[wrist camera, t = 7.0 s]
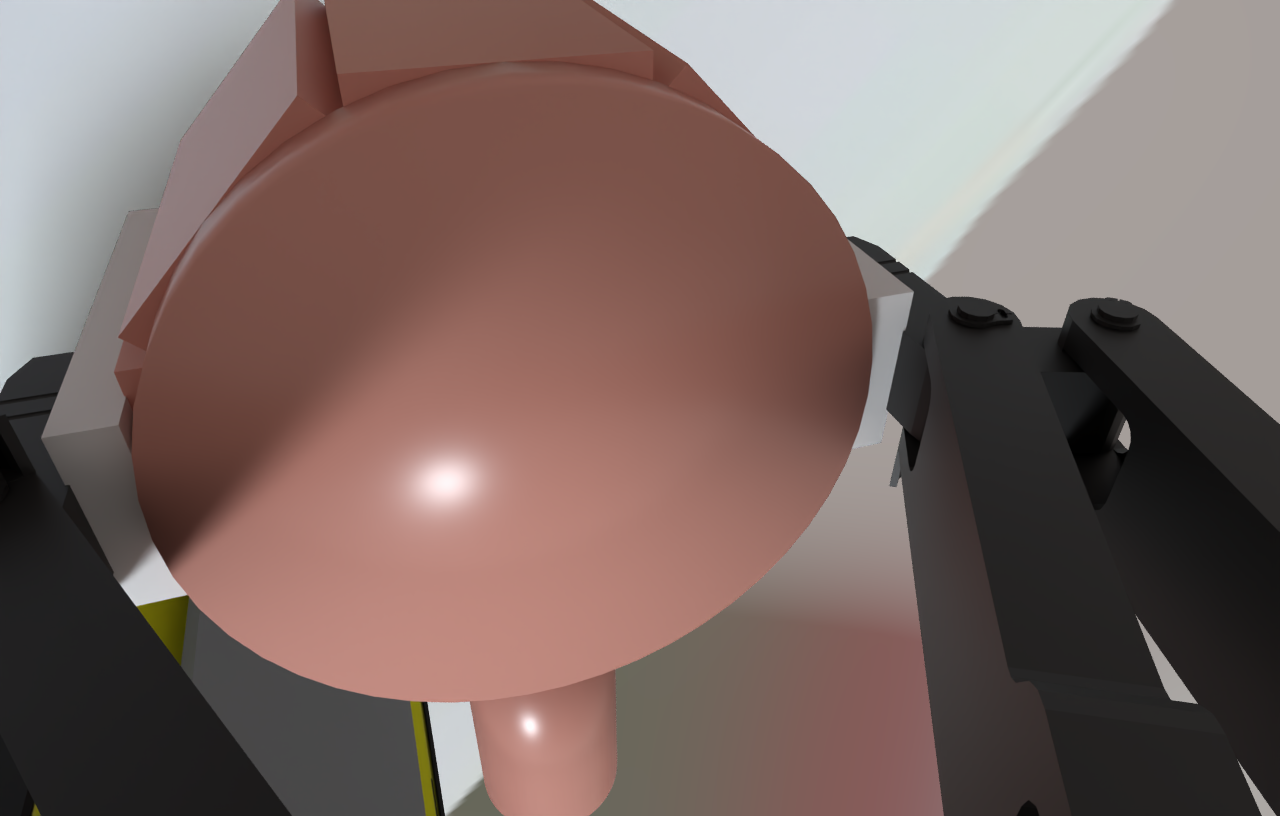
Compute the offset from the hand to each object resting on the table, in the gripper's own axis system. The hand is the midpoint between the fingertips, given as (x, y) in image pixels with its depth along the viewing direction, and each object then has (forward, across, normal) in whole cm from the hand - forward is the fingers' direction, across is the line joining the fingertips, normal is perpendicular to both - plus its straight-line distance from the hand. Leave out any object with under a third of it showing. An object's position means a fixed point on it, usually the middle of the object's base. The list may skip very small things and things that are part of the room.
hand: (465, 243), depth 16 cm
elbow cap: (+1, 0, +3) cm, 3 cm away
